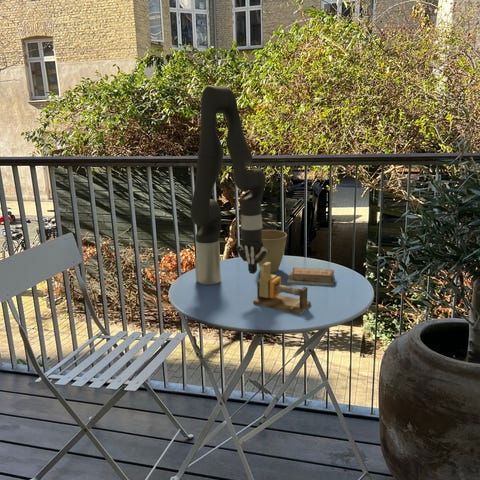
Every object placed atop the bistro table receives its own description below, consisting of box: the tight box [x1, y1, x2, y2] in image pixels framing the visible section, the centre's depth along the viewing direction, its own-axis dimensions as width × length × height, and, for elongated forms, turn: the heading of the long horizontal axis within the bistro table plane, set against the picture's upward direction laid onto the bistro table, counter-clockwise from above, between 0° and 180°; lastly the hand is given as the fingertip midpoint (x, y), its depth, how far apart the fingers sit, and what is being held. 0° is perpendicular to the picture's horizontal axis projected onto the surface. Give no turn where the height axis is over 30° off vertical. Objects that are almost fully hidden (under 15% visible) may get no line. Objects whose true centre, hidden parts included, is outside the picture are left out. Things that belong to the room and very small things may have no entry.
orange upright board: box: [270, 276, 282, 298], centre depth 160 cm, size 1×6×6 cm, turn 148°
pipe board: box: [253, 280, 312, 315], centre depth 159 cm, size 18×9×8 cm, turn 58°
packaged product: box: [286, 266, 335, 287], centre depth 182 cm, size 18×5×10 cm
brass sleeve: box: [258, 262, 278, 298], centre depth 161 cm, size 4×6×11 cm, turn 148°
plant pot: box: [257, 229, 288, 274], centre depth 193 cm, size 15×15×16 cm
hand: (252, 272), depth 164 cm, fingers closed
